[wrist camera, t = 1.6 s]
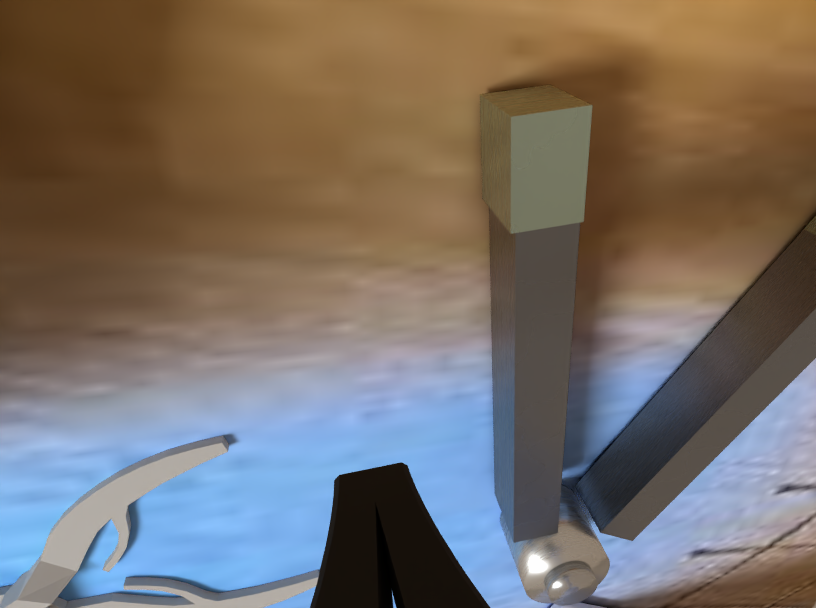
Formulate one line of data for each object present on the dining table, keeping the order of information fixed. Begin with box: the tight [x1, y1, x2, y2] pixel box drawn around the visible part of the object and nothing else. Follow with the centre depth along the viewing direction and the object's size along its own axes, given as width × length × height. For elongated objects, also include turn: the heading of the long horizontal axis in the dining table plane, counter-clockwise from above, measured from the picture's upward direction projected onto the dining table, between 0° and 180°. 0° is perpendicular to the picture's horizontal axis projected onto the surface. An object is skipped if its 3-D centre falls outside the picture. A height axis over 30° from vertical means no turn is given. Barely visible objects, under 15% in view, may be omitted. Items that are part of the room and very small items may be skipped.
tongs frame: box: [500, 216, 816, 606], centre depth 21 cm, size 4×20×4 cm, turn 150°
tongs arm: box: [480, 85, 592, 543], centre depth 19 cm, size 2×16×3 cm, turn 6°
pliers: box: [0, 436, 320, 608], centre depth 23 cm, size 10×2×15 cm
